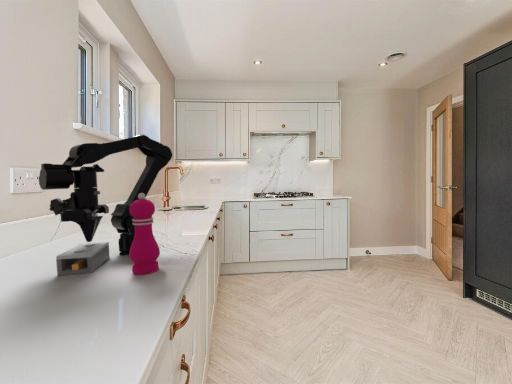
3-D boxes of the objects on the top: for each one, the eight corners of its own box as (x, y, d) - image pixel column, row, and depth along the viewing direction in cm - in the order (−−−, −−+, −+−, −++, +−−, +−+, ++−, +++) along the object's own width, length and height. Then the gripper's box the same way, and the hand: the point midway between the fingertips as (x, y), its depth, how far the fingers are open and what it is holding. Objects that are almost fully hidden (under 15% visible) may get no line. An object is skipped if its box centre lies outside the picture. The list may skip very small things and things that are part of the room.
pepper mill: (166, 267, 73) (162, 191, 72) (147, 276, 66) (142, 193, 65) (144, 265, 75) (140, 192, 74) (123, 274, 68) (118, 194, 67)
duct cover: (108, 244, 84) (108, 241, 84) (91, 256, 70) (91, 253, 70) (79, 246, 82) (79, 243, 82) (56, 259, 69) (56, 255, 69)
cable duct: (109, 257, 84) (108, 244, 84) (92, 272, 71) (91, 256, 70) (80, 259, 83) (79, 246, 83) (57, 275, 69) (56, 259, 69)
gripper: (69, 188, 87) (72, 237, 87) (35, 190, 68) (39, 252, 69) (108, 187, 89) (110, 234, 89) (84, 188, 71) (88, 248, 71)
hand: (89, 241), depth 80 cm, fingers closed
